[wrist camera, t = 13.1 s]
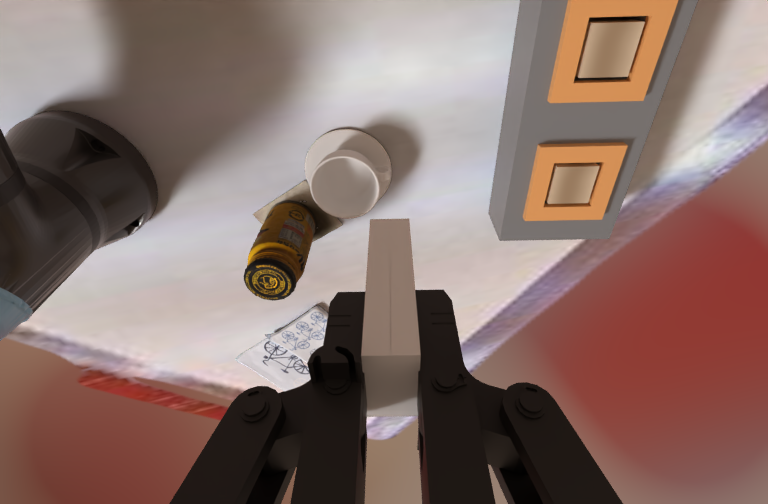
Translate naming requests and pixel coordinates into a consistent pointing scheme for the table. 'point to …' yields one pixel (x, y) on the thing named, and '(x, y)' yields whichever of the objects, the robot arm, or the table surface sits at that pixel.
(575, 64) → the block
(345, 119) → the table surface
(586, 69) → the peg
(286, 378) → the bicycle print napkin
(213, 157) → the table surface
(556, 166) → the peg
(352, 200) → the teacup
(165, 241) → the table surface
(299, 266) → the condiment
